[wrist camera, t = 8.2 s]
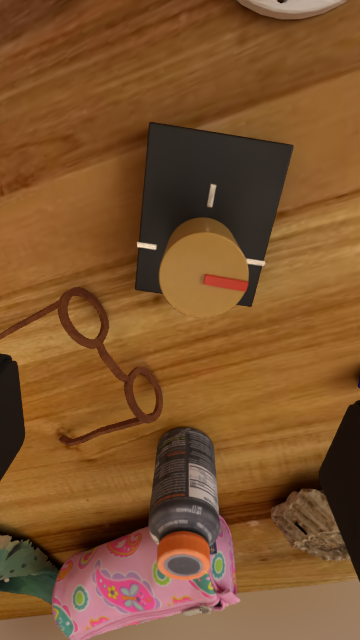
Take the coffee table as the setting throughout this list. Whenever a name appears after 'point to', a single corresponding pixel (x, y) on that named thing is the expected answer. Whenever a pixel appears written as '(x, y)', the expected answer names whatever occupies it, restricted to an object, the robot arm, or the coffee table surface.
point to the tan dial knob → (203, 269)
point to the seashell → (310, 525)
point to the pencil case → (137, 586)
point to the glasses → (104, 355)
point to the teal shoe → (26, 570)
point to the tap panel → (209, 194)
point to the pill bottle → (184, 504)
